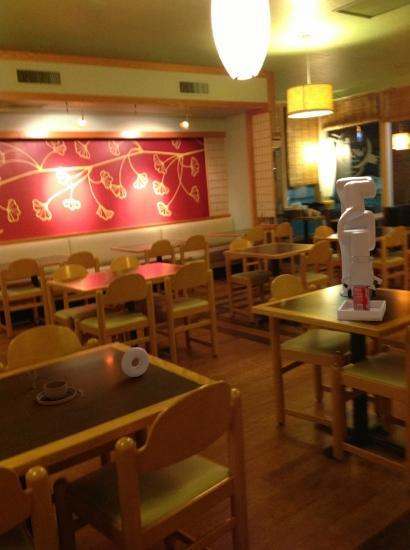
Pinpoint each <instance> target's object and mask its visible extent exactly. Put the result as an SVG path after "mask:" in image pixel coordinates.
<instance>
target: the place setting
mask: <svg viewBox="0 0 410 550" xmlns="http://www.w3.org/2000/svg"><path fill="white" fill-rule="evenodd" d="M27 374H28V379H29V380H30V381H31V382H32V384H31V386H32V389H36V388H37V387H36V379H37V378H38V375H37V371H36V370H30V371H28V373H27ZM85 391H86V390H85V388H84V387H80V388H79V389H78V392H79V393H80V396H81V397H84V392H85ZM67 393H72V395H70V396H69V397H66V398H64V396H66V394H67ZM26 397H27V398H30V395H29V394H28V395H26ZM44 397H46V398H48V399H50V401H43V400H41V399H42V398H44ZM75 397H77V390H76V388H74V387H70V386H68V382H67V381H66V380H62V379H61V380H60V379H59V380H53V381H48V382H47V383H45V384H44V385H43V391H41V392H39V393H38V394H37V395H36V398H35V399H36V402H37V403H38V404H40V405H41V406H42V405H44V406H55V405H60V404H64V403H68V402H69V401H71V400H73V399H75ZM63 398H64V399H63Z"/></svg>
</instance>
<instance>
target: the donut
mask: <svg viewBox="0 0 410 550" xmlns="http://www.w3.org/2000/svg"><path fill="white" fill-rule="evenodd" d="M135 358H138V364H137V365H136V366H133V365H132V364H133V363H132V362H133V360H134V359H135ZM149 364H150V358H149V354H148V353H147V351H146V350H145V349H144V348H142V347H140V346H139V347H137V346H136V347H131V348H129V349H128V350H127V351H125V352H124V354H123V356H122V359H121V370H122V371H123V372H124V374H125V375H127V376H128V377H130V378H135V377H136V378H137V377H140V376H141V375H143V374H144V373H145V372H146V371H147V370H148V368H149V366H150V365H149Z"/></svg>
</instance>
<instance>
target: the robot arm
mask: <svg viewBox="0 0 410 550" xmlns="http://www.w3.org/2000/svg"><path fill="white" fill-rule="evenodd" d="M335 190H336V193H337V196H338V198H339V202H340V209H341V211H340V212H341V216H340V217H339V219H338V221H337V228H336V230H337V239H338V244H339V248H340V252H341V253H340V254H341V255H340V256H341V271H342V272H341V273H342V276H341V277H342V278H341V279H340V282H341V284H342V290H341V291H340V292H339V295H340V296H342V297H348V300H352V298H353V289H354V287H355V286H368V287H370V288H371V299H372V300H375V298H376V297H377V289H378V288H379V287H380V286H381V284H382V282H383V279H382V278H381V277H378V276H376V275H374V265H373V262H372V261H373V260H374V256H370V255H371V254H370V253H371V252H370V251H373V250H374V249H375V247H376V218H375V214H374V212H373V211H372V210H367V209H366V207H365V206H366V205H365V199H374V198H375V197H376V196H377V184H376V182H375V180H374V179H373V177H371V176H369V175H368V176H366V175H365V176H355V177H354V176H352V177H343V178H339V179H337V180H336V182H335ZM375 281H377V284H376V285H375V284H374V283H375Z"/></svg>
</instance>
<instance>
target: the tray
mask: <svg viewBox="0 0 410 550" xmlns="http://www.w3.org/2000/svg"><path fill="white" fill-rule="evenodd" d="M386 310H387V301H386V300H371V299H370V311H362V310H354V306H353V299H344V301H342V303H341V305H340V306H339V307H338V308H337V310H336V311H337V312H336V315H337V316H336V318H337V320H339V321H340V320H341V321H342V320H343V321H374V322H375V321H376V322H382V321H383V318H384V316H385V313H386Z"/></svg>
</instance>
